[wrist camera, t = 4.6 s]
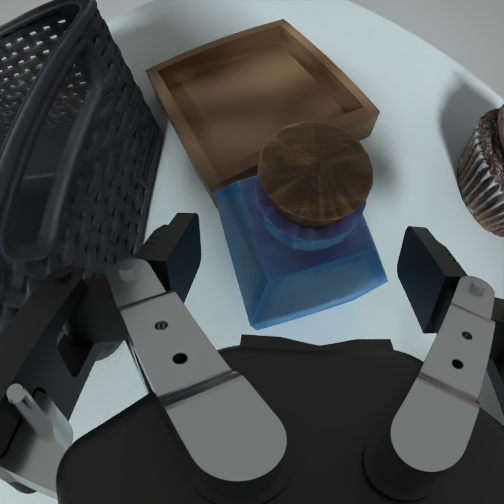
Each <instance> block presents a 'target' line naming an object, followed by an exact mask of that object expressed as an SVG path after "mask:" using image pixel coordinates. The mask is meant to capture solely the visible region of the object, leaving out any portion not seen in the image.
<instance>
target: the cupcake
mask: <svg viewBox="0 0 504 504" xmlns="http://www.w3.org/2000/svg"><path fill="white" fill-rule="evenodd" d="M457 178H458V187H459V190H460V193H461V196H462V199H463V201H464V203H465V205H466V208H467V209H468V210H469V211H470V213H471V214H472V215H473V217H474V219H475V220H476V221H477V222H478V223H479V224H480V225H481V226H482V227H483V228H484V229H486V230H487V231H489V232H493V234H495V235H498V236H500V237H504V104H503V105H502V107H501V108H500V109H494V110H491V111H489V112H487V113H485V114H484V116H483V117H481V118H480V120H479V122H478V123H477V124H476V126H475V128H474V131H473V134H472V136H471V138H470V139H469V141H468V143H467V145H466V148H465V150H464V152H463V154H462V156H461V160H460V162H459V166H458V169H457Z"/></svg>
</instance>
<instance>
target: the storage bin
mask: <svg viewBox="0 0 504 504" xmlns="http://www.w3.org/2000/svg"><path fill="white" fill-rule="evenodd" d="M64 19H65V21H66V22H63V23H58V21H60V20H64ZM25 25H26V26H25ZM45 26H50V28H47V29H45V30H44V28H43V27H45ZM33 31H36V34H33V35H30V34H29V33H31V32H33ZM53 35H57V37H56V38H53V39H50V37H51V36H53ZM1 37H2V38H1ZM21 37H22V38H23V39H22V40H20V41H17V39H18V38H21ZM39 41H42V43H41V44H39V45H37V44H36V42H39ZM8 43H11V46H5V45H6V44H8ZM27 46H29V47H30V48H29V49H26V50H24V49H23V48H25V47H27ZM45 50H49V52H48V53H43V51H45ZM13 52H17V54H15V55H12V53H13ZM33 55H35V56H36V57H34V58H32V59H31V58H30V56H33ZM3 57H6V58H7V59H5V60H1V59H2V58H3ZM21 60H23V61H24V62H22V63H18V62H19V61H21ZM40 63H41V64H42V66H39V67H37V66H36V65H38V64H40ZM74 64H75V65H74ZM10 65H12V66H13V67H11V68H9V69H8V67H7V66H10ZM73 65H74V66H73ZM26 69H30V70H29V71H27V72H25V70H26ZM0 70H2V72H0V99H2V100H1V101H0V334H1V333H2V332H3V330H4V329H5V328H6V326H7V325H8V324H9V322H10V321H11V320H12V318H13V317H14V316H15V314H16V313H17V312H18V311H19V309H20V308H21V307H22V306H23V304H24V303H25V302H26V301H27V299H28V298H29V297H30V296H31V294H32V293H33V292H34V291H35V290H36V288H37V287H38V286H39V285H40V284H41V282H42V281H43V280H44V279H45V278H46V277H47V276H48V275H49V274H50V273H51V272H53V271H54V270H56V269H58V268H61V267H65V266H77V267H80V268H81V269H82V270H83V274H84V277H85V279H92V278H101V277H107V276H106V273H107V270H108V269H109V268H110V267H111V266H112V265H113V264H115V263H117V262H119V261H122V260H126V259H133V258H134V256H135V255H136V254H137V252H138V251H139V250H140V246H141V240H142V234H143V228H144V222H145V217H146V212H147V206H148V201H149V196H150V191H151V186H152V182H153V177H154V172H155V168H156V164H157V159H158V155H159V151H160V147H161V140H162V136H161V130H160V127H159V125H158V123H157V121H156V120H155V118H154V117H153V115H152V112H151V110H150V108H149V106H148V105H147V103H146V102H145V100H144V98H143V95H142V92H141V90H140V88H139V87H138V86H137V85H136V83H135V81H134V79H133V75H132V73H131V71H130V69H129V67H128V66H127V65H126V64H125V62H124V59H123V57H122V55H121V52H120V50H119V48H118V46H117V44H115V42H114V41H113V39H112V36H111V34H110V32H109V28H108V26H107V24H106V22H105V20H104V19H102V17H101V15H100V12H99V10H98V9H97V2H96V1H95V0H53V1H50V2H48V3H46V4H43V5H41V6H39V7H37V8H34V9H33V10H30V11H28V12H26V13H24V14H22V15H21V16H18V17H17V18H15V19H13V20H11V21H9V22H8V23H5V24H3V25H2V26H0ZM79 72H80V73H81V75H74V74H76V73H79ZM16 73H19V75H16V76H14V74H16ZM32 77H36V78H35V79H31V78H32ZM66 77H67V78H66ZM5 78H8V79H7V80H6V81H5V80H4V79H5ZM22 81H25V82H24V83H22V84H21V83H20V82H22ZM80 82H86V83H84V84H80ZM71 84H72V85H73V86H72V87H67V86H68V85H71ZM11 85H15V86H14V87H10V86H11ZM28 88H30V89H29V90H26V89H28ZM1 89H5V90H4V91H1ZM18 92H20V94H18V95H17V94H16V93H18ZM73 93H78V94H76V95H73ZM9 95H10V96H11V97H7V96H9ZM107 95H108V97H107ZM63 96H66V97H64V98H61V97H63ZM23 99H24V100H23ZM82 100H83V102H78V101H82ZM14 102H17V103H16V104H13V103H14ZM66 104H70V105H66ZM5 105H8V106H5ZM57 106H60V107H57ZM72 110H77V111H72ZM11 112H12V113H11ZM62 112H65V113H64V114H61V113H62ZM2 114H6V115H2ZM50 115H55V116H50ZM46 122H49V123H46ZM7 127H8V128H7ZM63 335H64V331H63V328H61V330H60V332H59V333H58V336H57V345H58V343H59V342H60V340H61V338H62V337H63ZM121 343H122V341H113V342H104V344H103V346H102V348H101V350H100V352H99V354H98V357H97V359H96V361H98V360H102V359H104V358H106V357H108V356H109V355H111V354H112V353H113V352H114V351H115V350H116V349H117V348H118V347H119V346H120V344H121Z"/></svg>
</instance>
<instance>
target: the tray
mask: <svg viewBox="0 0 504 504" xmlns="http://www.w3.org/2000/svg"><path fill="white" fill-rule="evenodd" d="M146 73H147V75H148V77H149V80H150V82H151V84H152V87H153V89H154V91H155V93H156V95H157V97H158V99H159V101H160V103H161V105H162V107H163V109H164V111H165V112H166V114H167V116H168V118H169V120H170V122H171V124H172V126H173V128H174V129H175V131H176V133H177V135H178V137H179V139H180V141H181V143H182V144H183V146H184V148H185V150H186V152H187V154H188V156H189V158H190V159H191V161H192V163H193V165H194V167H195V169H196V171H197V173H198V174H199V176H200V178H201V180H202V182H203V184H204V186H205V187H206V189H207V191H208V193H209V195H210V197H211V199H212V200H213V202H214V204H215V206H216V208H218V207H217V203H216V199H215V195H214V192H216V191H218V190H220V189H222V188H224V187H226V186H228V185H230V184H232V183H234V182H236V181H238V180H242V179H246V178H249V177H253V176H257V173H258V162H259V157H260V153H261V149H262V148H263V146H264V145H265V143H266V142H267V140H268V139H269V137H271V136H272V135H273V134H275V133H276V132H277V131H278V130H280V129H281V128H283V127H286V126H288V125H291V124H294V123H297V122H307V121H316V122H322V123H328V124H331V125H334V126H336V127H338V128H340V129H343V130H345V131H346V132H348V133H349V134H350V135H351V136H353V137H354V138H355V139H356V140H358V141H359V140H361V139H364V138H366V137H368V136H370V134H371V132H372V129H373V127H374V125H375V122H376V120H377V117H378V115H379V112H380V111H379V110H378V109H377V108H376V106H375V105H374V104H373V103H372V102H371V101H370V100H369V99H368V98H367V97H366V96H365V94H364V93H363V92H362V91H361V90H360V89H359V88H358V87H357V86H356V85H355V84H354V83H353V82H352V81H351V80H350V79H349V78H348V77H347V76H346V75H345V74H344V73H343V72H342V71H341V70H340V69H339V68H338V67H337V66H336V65H335V64H334V63H333V62H332V61H331V60H330V59H329V58H328V57H327V56H326V55H325V54H323V53H322V52H321V51H320V50H319V49H318V48H317V47H316V46H315V45H314V44H312V43H311V42H310V41H309V40H308V39H307V38H306V37H304V36H303V35H302V34H301V33H300V32H299V31H297V30H296V29H295V28H294V27H293V26H291V25H290V24H289V23H288V22H287V21H285V20H284V19H282V20H278V21H275V22H271V23H268V24H264V25H261V26H257V27H254V28H251V29H248V30H245V31H241V32H238V33H235V34H232V35H230V36H227V37H224V38H221V39H218V40H216V41H213V42H210V43H208V44H205V45H202V46H200V47H197V48H195V49H192V50H190V51H188V52H185V53H183V54H180V55H178V56H176V57H174V58H171V59H169V60H167V61H165V62H162V63H160V64H158V65H156V66H154V67H152V68H150V69H148V70H146Z"/></svg>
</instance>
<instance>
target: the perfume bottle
mask: <svg viewBox="0 0 504 504" xmlns="http://www.w3.org/2000/svg"><path fill="white" fill-rule="evenodd" d="M372 181H373V169H372V165H371V162H370V159H369V156H368V154H367V152H366V151H365V150H364V148H363V147H362V145H361V144H360V143H359V141H358V140H356V139H355V138H354V137H353V136H351V135H350V134H349V133H348V132H346V131H345V130H343V129H340V128H338V127H336V126H334V125H331V124H328V123H322V122H316V121H307V122H297V123H294V124H291V125H288V126H286V127H283V128H281V129H280V130H278V131H277V132H276V133H275V134H273V135H272V136H271V137H269V139H268V140H267V142H266V143H265V145H264V146H263V148H262V149H261V153H260V157H259V162H258V173H257V176H253V177H249V178H246V179H242V180H238V181H236V182H234V183H232V184H230V185H228V186H226V187H224V188H222V189H220V190H218V191H216V192H214V195H215V199H216V203H217V207H218V210H219V214H220V218H221V222H222V225H223V229H224V233H225V236H226V240H227V244H228V247H229V251H230V255H231V258H232V262H233V266H234V269H235V273H236V276H237V280H238V284H239V287H240V291H241V294H242V298H243V301H244V305H245V308H246V312H247V315H248V319H249V322H250V326H252V327H253V328H254V329H256V330H260V329H263V328H267V327H270V326H273V325H277V324H280V323H283V322H287V321H290V320H293V319H297V318H300V317H303V316H306V315H309V314H313V313H316V312H319V311H322V310H325V309H328V308H331V307H334V306H337V305H340V304H343V303H346V302H349V301H352V300H355V299H356V298H358V297H360V296H362V295H364V294H366V293H368V292H369V291H371V290H373V289H375V288H377V287H379V286H380V285H382V284H384V283H386V282H388V280H387V277H386V274H385V271H384V268H383V265H382V263H381V260H380V257H379V254H378V252H377V249H376V246H375V244H374V241H373V239H372V236H371V233H370V231H369V228H368V226H367V223H366V221H365V218H364V216H363V213H362V212H363V210H364V208H365V206H366V199H367V197H368V194H369V192H370V190H371V187H372Z"/></svg>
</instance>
